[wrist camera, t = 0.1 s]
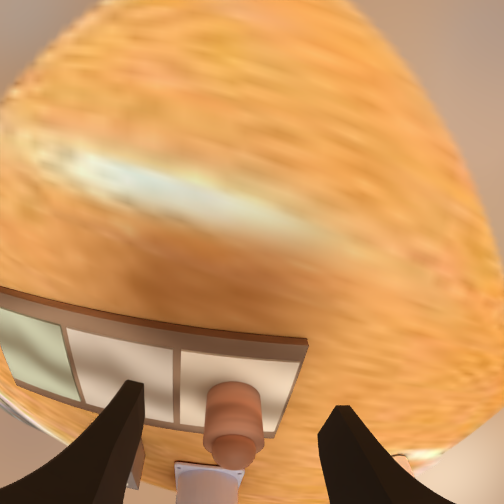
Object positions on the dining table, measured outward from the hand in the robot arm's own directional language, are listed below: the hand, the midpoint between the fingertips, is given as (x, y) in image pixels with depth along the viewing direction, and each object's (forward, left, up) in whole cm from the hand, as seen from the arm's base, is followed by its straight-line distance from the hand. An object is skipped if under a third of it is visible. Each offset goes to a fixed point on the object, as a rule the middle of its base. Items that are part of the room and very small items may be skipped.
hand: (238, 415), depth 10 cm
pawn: (-9, -1, -9) cm, 13 cm away
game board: (-9, +8, -10) cm, 16 cm away
